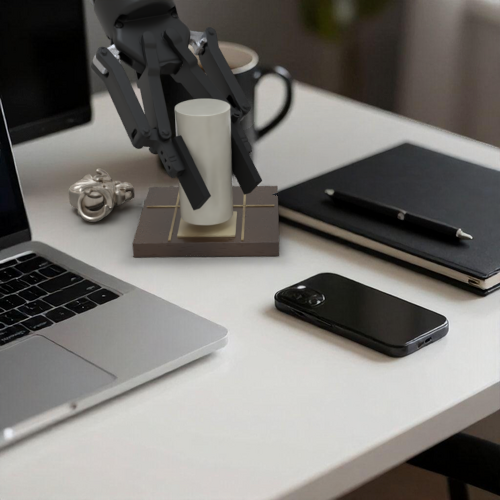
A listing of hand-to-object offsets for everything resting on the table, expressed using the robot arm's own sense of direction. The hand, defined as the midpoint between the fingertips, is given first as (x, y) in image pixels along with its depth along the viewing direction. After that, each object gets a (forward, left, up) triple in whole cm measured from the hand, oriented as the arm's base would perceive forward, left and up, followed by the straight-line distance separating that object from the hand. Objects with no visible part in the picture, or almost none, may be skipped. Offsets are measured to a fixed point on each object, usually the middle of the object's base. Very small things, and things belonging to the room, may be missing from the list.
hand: (228, 194), depth 87 cm
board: (+2, -6, -6) cm, 9 cm away
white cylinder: (+2, -3, -3) cm, 5 cm away
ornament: (+14, -10, -6) cm, 19 cm away
